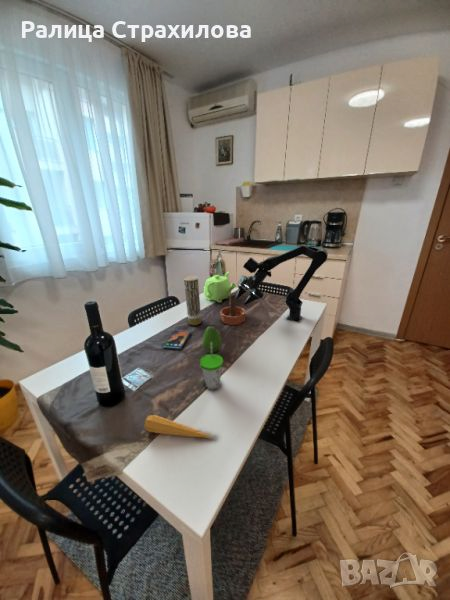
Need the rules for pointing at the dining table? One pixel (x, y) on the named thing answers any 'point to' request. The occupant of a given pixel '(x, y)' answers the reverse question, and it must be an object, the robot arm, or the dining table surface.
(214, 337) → the avocado
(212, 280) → the teapot
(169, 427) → the carrot
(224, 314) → the bowl
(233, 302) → the stirring stick
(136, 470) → the dining table surface
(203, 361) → the cup
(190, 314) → the wooden log
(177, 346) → the smartphone
